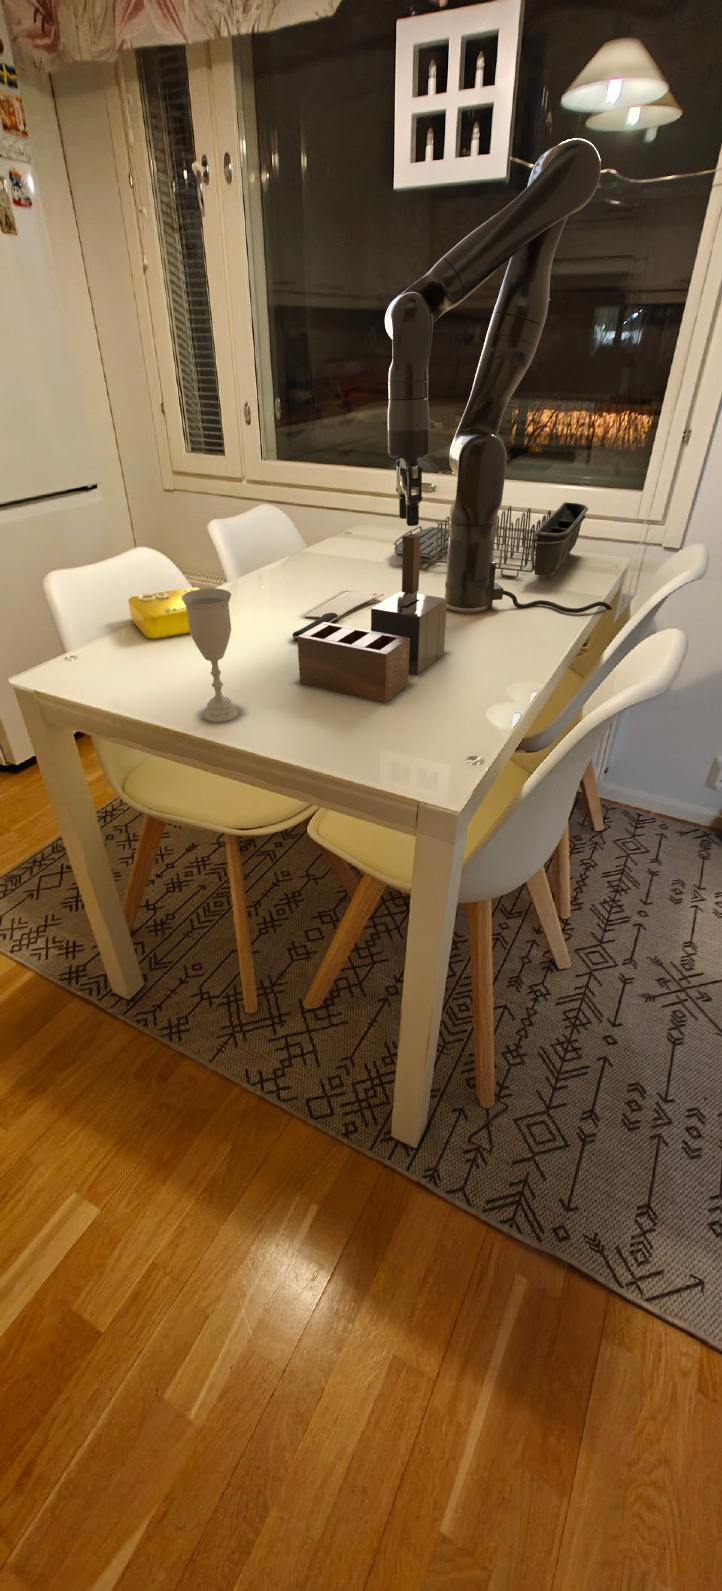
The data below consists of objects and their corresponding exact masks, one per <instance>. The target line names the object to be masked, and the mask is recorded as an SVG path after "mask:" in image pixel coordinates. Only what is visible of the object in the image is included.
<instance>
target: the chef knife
mask: <svg viewBox="0 0 722 1591" xmlns="http://www.w3.org/2000/svg"><path fill="white" fill-rule="evenodd" d="M420 538H421V535H416V534H415V533H412V534H411V533H409V534H407V535H405V536H404V537H403V558H402V568H401V570H402V571H401V576H402V577H401V591H402V593H404V594H403V608H408V607H410V606H411V605H413V604H415V603H416V602H417V594H418V592H419V590H420V588H419V587H420V566H421V563H420ZM419 565H420V566H419Z"/></svg>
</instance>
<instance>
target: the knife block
mask: <svg viewBox="0 0 722 1591" xmlns="http://www.w3.org/2000/svg"><path fill="white" fill-rule="evenodd" d="M403 594H404V593H402V590H401V591H399V592H397V593H395V594H394V595H392V596H390V597H388V598H387V599H385V600H383V601H381V602H380V603H377V605H374V606H373V607H371V608H370V631H375V632H381V633H386V634H392V635H397V636H402V637H408V638H410V645H409V674H414V675H419V674H420V673H422V672H423V671H424V670H425V669H427V668H428V667H429V666H430V665H431V664H433V663H434V662H435V661H436V660H438V659H439V658H440V657H442V655H444V654H445V643H446V642H445V641H446V628H447V625H446V623H447V610H448V609H447V598H445V597H442V596H441V597H440V596H433V595H427V594H422V593H421V594H420V593H417V602H416V603H415V604H413V605H411V606H410V607H408V608H403Z"/></svg>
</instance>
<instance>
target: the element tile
mask: <svg viewBox="0 0 722 1591" xmlns="http://www.w3.org/2000/svg"><path fill="white" fill-rule="evenodd" d="M198 589H199V588H198V587H188V588H182V589H175V590H169V591H167V590H166V591H162V592H161V591H160V592H154V593H143V594H139V595H136V596H131V597H130V598H129V599H128V607H129V612H130V619H131V620H132V622H133V623H134V625H135V626H137V627H138V629H139V630H140V631H141V632H142V633H143V634H144V636H145V637H146V638H147V639H154V640H155V639H156V640H157V639H162V638H169V637H175V636H180V635H185V634H190V629H189V622H188V615H187V608H186V605H185V604H184V602H183V601H182V598H181V597H182V596H183V595H184V594H185V593H187V592H190V591H193V590H198Z"/></svg>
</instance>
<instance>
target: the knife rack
mask: <svg viewBox="0 0 722 1591" xmlns="http://www.w3.org/2000/svg"><path fill="white" fill-rule="evenodd" d="M297 640H298V641H297V655H298V672H299V684H303V685H307V686H312V687H316V688H320V689H323V690H329V691H333V692H336V693H337V692H338V693H341V694H346V695H350V696H354V697H358V698H363V699H367V700H372V701H376V702H380V703H388V701H390V700H391V699H393V697H395V696H397V694H398V693H400V692H401V691H403V690H404V689H405V688H406V687H407V686H408V685H409V674H410V673H409V645H410V638H408V637H402V636H397V635H392V634H386V633H381V632H375V631H371V629H364V628H360V627H353V626H348V625H343V624H337V623H334V622H333V623H327V622H323V623H321V624H319V625H317V626H316V627H314V628H312V629H310V630H308V631H306V632H305V633H303V634H301V635H299V636H297Z"/></svg>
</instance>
